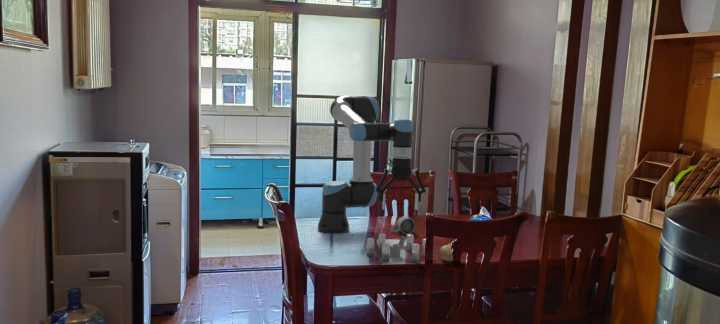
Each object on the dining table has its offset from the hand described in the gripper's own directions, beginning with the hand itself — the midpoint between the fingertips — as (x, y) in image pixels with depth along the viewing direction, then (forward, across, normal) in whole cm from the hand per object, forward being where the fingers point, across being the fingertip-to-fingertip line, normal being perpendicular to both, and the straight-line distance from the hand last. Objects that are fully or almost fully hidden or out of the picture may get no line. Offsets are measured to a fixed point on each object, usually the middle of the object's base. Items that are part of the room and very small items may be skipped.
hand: (399, 209), depth 220 cm
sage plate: (+19, 0, +15) cm, 24 cm away
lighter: (+20, 0, -1) cm, 20 cm away
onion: (+20, +20, -6) cm, 29 cm away
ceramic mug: (+19, +7, +38) cm, 43 cm away
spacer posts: (+19, 0, -1) cm, 19 cm away
